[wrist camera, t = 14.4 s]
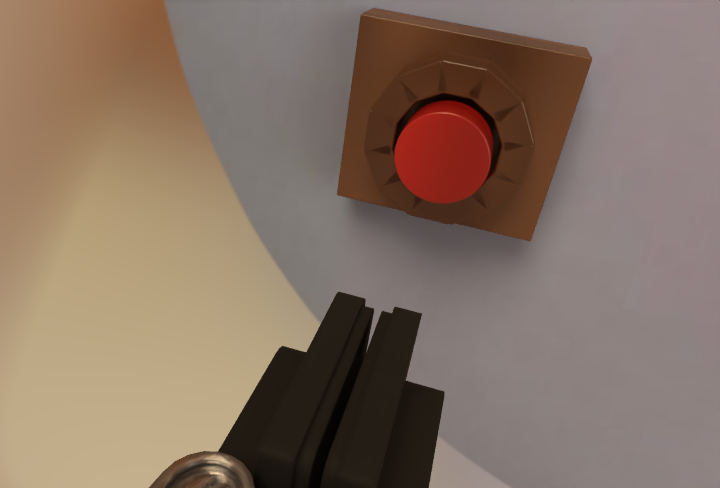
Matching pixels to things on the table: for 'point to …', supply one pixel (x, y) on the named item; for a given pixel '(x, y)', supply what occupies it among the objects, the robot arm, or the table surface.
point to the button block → (474, 88)
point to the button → (444, 152)
